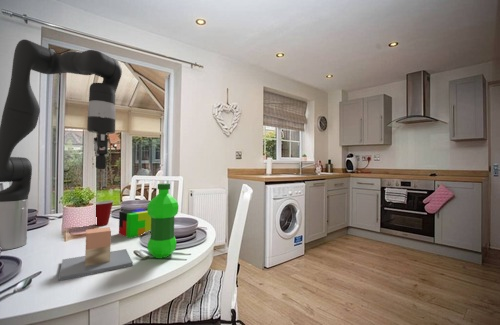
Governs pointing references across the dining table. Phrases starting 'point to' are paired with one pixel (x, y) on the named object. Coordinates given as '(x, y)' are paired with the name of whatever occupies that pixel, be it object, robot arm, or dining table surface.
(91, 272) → the baseplate
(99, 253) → the beech block
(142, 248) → the dining table surface
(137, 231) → the puzzle toy
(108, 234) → the terracotta block
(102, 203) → the plastic cup
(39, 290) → the dining table surface
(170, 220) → the plastic bottle
